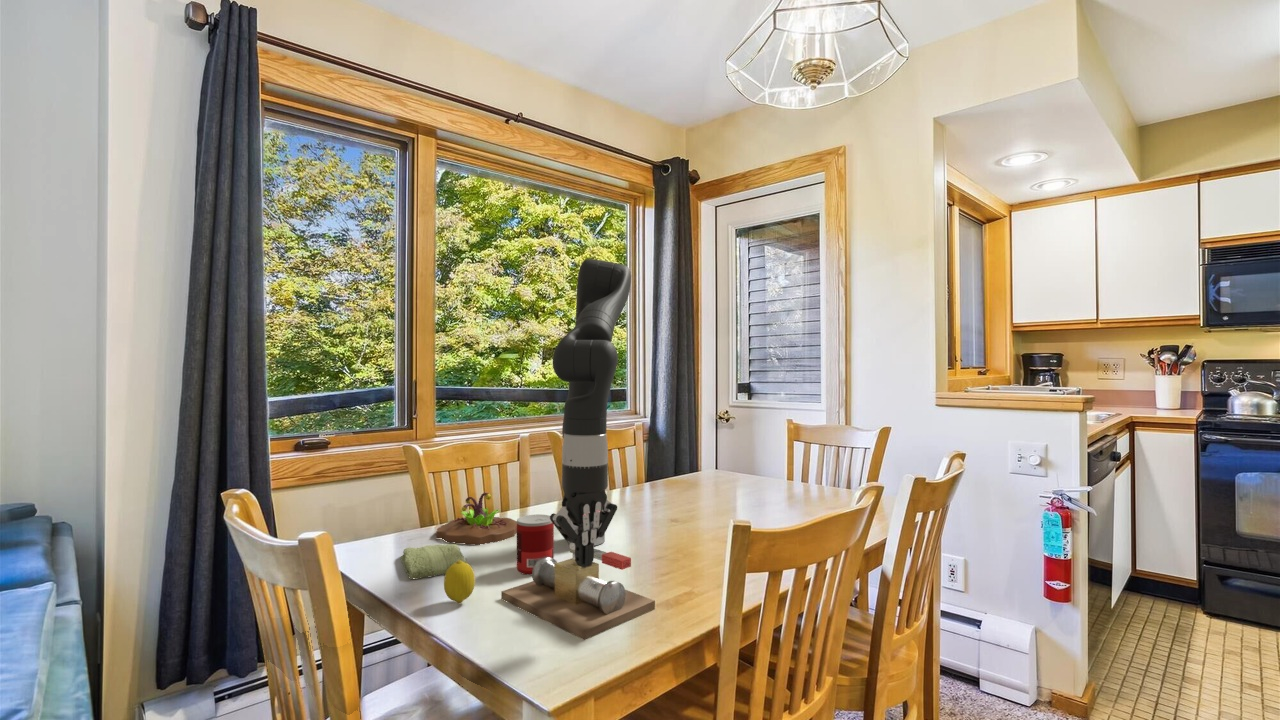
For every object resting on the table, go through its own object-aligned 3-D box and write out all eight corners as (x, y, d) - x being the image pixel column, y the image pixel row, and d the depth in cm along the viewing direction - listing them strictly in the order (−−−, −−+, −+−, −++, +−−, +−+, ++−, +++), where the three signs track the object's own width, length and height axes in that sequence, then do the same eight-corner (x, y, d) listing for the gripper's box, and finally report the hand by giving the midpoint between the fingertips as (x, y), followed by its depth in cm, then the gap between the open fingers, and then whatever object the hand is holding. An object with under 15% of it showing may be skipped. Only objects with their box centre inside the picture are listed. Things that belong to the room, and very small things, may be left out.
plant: (484, 550, 143) (484, 504, 143) (423, 539, 151) (424, 495, 151) (532, 529, 161) (533, 488, 161) (476, 521, 169) (476, 482, 169)
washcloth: (457, 551, 143) (458, 537, 143) (470, 574, 127) (470, 559, 127) (399, 558, 137) (399, 544, 137) (404, 584, 121) (405, 568, 121)
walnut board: (501, 599, 112) (501, 591, 112) (570, 576, 125) (570, 569, 125) (584, 640, 96) (584, 630, 96) (654, 608, 108) (654, 600, 108)
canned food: (560, 568, 129) (560, 518, 129) (530, 578, 123) (531, 525, 123) (539, 560, 134) (539, 512, 135) (509, 569, 129) (509, 518, 129)
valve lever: (566, 551, 110) (566, 543, 110) (577, 548, 112) (577, 540, 112) (620, 570, 100) (620, 561, 100) (632, 566, 102) (632, 557, 102)
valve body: (531, 588, 115) (532, 544, 115) (554, 581, 119) (554, 538, 119) (602, 620, 101) (602, 569, 101) (625, 610, 105) (625, 561, 105)
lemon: (457, 612, 106) (458, 567, 106) (437, 605, 109) (437, 562, 109) (481, 601, 111) (481, 559, 111) (460, 595, 114) (461, 553, 114)
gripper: (566, 468, 90) (566, 582, 90) (629, 458, 99) (629, 561, 99) (538, 462, 95) (537, 569, 95) (600, 453, 105) (600, 551, 105)
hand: (584, 565), depth 97 cm, fingers closed
